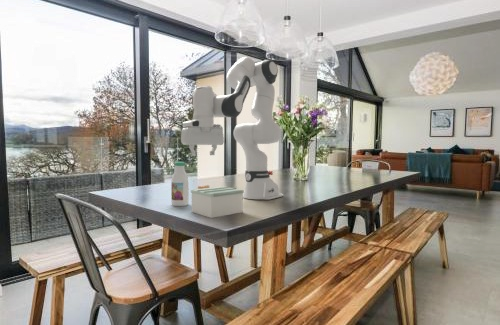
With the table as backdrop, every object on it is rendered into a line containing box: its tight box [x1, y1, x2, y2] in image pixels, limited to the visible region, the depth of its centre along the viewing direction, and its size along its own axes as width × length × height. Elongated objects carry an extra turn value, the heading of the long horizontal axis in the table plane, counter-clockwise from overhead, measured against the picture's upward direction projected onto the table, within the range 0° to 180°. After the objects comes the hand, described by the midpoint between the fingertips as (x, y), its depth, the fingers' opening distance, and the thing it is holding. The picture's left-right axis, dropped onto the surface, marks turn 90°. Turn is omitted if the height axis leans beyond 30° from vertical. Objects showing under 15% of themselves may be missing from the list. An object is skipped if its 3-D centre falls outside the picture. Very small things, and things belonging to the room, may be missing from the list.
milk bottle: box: [170, 161, 190, 207], centre depth 151 cm, size 8×8×20 cm
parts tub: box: [191, 193, 244, 219], centre depth 136 cm, size 16×14×8 cm
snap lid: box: [190, 184, 245, 197], centre depth 137 cm, size 16×19×2 cm
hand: (203, 155), depth 143 cm, fingers open, 8 cm apart
